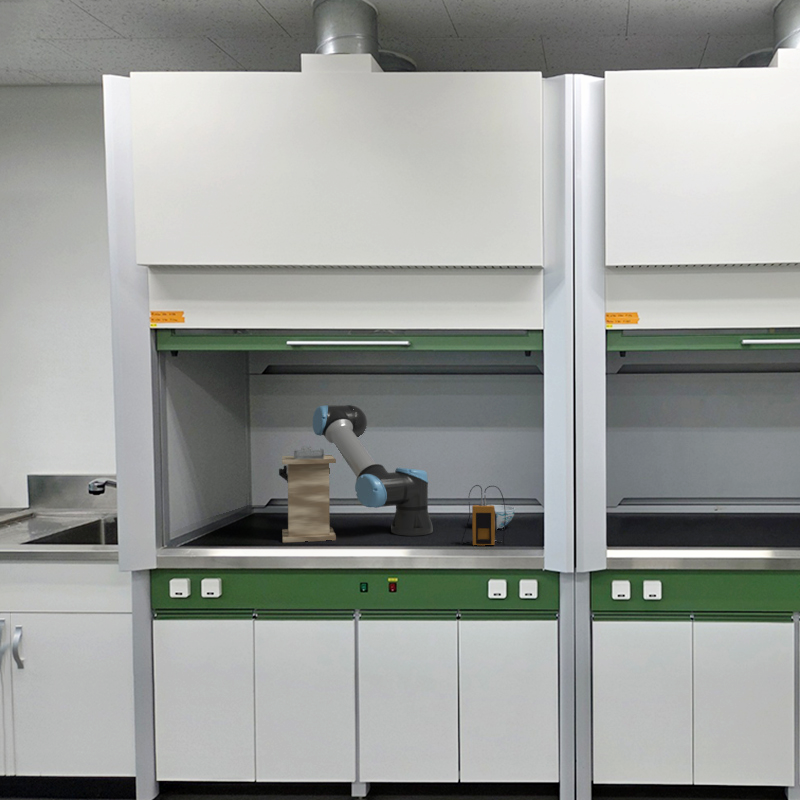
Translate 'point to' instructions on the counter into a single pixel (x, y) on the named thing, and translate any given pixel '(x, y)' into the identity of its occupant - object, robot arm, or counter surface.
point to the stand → (308, 500)
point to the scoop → (308, 453)
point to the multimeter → (484, 522)
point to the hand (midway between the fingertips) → (305, 463)
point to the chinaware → (503, 514)
